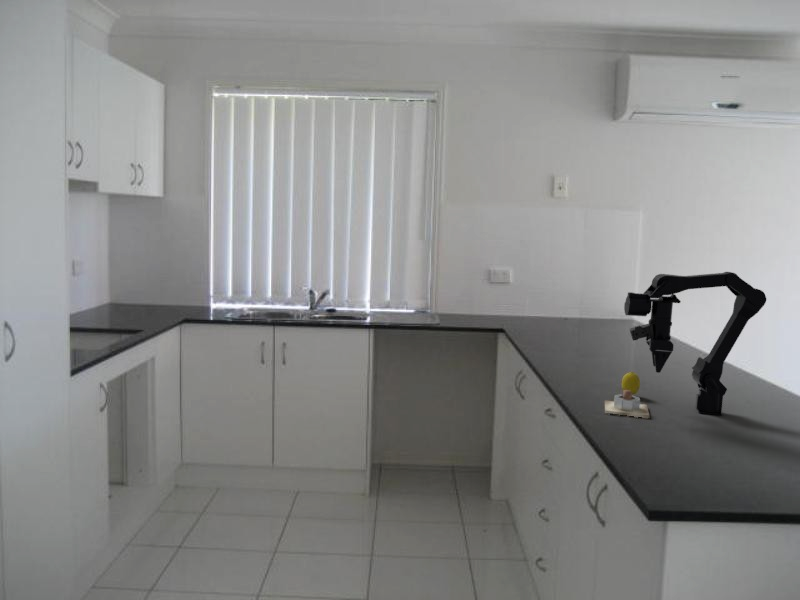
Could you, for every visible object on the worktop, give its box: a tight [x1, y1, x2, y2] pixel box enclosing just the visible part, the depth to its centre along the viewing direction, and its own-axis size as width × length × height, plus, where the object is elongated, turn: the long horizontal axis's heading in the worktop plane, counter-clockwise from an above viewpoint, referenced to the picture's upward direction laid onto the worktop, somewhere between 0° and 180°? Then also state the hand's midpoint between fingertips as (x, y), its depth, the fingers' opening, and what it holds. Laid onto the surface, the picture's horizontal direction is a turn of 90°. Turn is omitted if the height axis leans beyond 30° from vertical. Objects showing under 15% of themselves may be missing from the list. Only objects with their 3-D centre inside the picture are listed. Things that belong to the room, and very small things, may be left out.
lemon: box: [621, 371, 641, 396], centre depth 229 cm, size 6×6×8 cm
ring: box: [613, 393, 641, 411], centre depth 211 cm, size 7×7×3 cm
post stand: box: [604, 390, 650, 419], centre depth 211 cm, size 12×12×6 cm
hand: (656, 369), depth 214 cm, fingers open, 9 cm apart
